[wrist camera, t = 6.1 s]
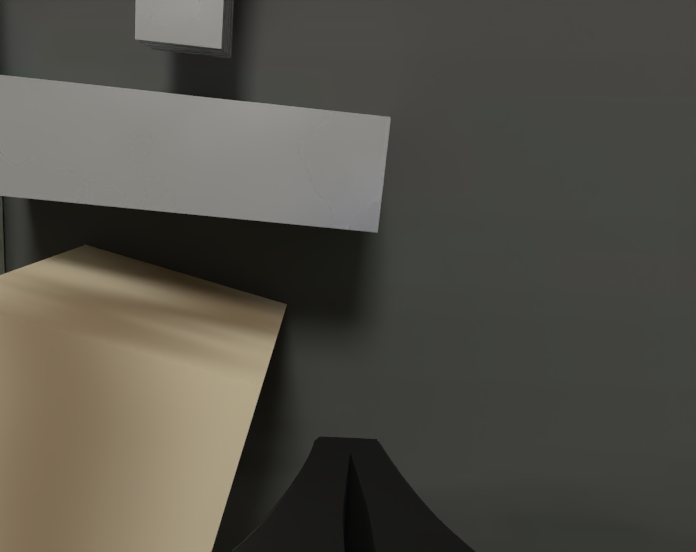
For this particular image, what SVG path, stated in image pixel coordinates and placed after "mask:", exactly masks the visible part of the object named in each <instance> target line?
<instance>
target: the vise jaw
mask: <svg viewBox="0 0 696 552" xmlns="http://www.w3.org/2000/svg"><path fill="white" fill-rule="evenodd" d="M233 12H234V0H136V14H135V39H136V40H137V41H139V42H141V43H142V44H144V45H146V46H147V47H149V48H151V49H152V50H161V51H170V52H179V53H188V54H197V55H206V56H215V57H223V58H231V50H232V31H233ZM390 119H391V117H384V116H375V115H366V114H357V113H347V112H338V111H329V110H320V109H311V108H301V107H292V106H283V105H274V104H264V103H255V102H246V101H237V100H228V99H218V98H209V97H200V96H191V95H181V94H172V93H163V92H154V91H145V90H135V89H126V88H117V87H108V86H98V85H89V84H80V83H71V82H62V81H52V80H43V79H34V78H25V77H15V76H6V75H0V196H9V197H19V198H29V199H39V200H50V201H60V202H70V203H80V204H91V205H101V206H111V207H121V208H131V209H142V210H152V211H162V212H172V213H183V214H193V215H203V216H213V217H223V218H234V219H244V220H254V221H264V222H275V223H285V224H295V225H305V226H315V227H326V228H336V229H346V230H356V231H367V232H377V233H378V225H379V216H380V207H381V198H382V190H383V181H384V172H385V163H386V155H387V146H388V137H389V128H390Z"/></svg>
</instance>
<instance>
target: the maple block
mask: <svg viewBox="0 0 696 552" xmlns="http://www.w3.org/2000/svg"><path fill="white" fill-rule="evenodd" d="M286 306H287V304H284V303H281V302H277V301H274V300H271V299H267V298H264V297H261V296H257V295H254V294H250V293H247V292H244V291H240V290H237V289H234V288H230V287H227V286H223V285H220V284H217V283H213V282H210V281H207V280H203V279H200V278H197V277H193V276H190V275H186V274H183V273H180V272H176V271H173V270H170V269H166V268H163V267H159V266H156V265H153V264H149V263H146V262H143V261H139V260H136V259H132V258H129V257H126V256H122V255H119V254H116V253H112V252H109V251H106V250H102V249H99V248H95V247H92V246H89V245H84V246H81V247H78V248H75V249H72V250H69V251H67V252H64V253H61V254H58V255H55V256H53V257H50V258H47V259H44V260H41V261H39V262H36V263H33V264H30V265H27V266H24V267H22V268H19V269H16V270H13V271H10V272H8V273H5V274H2V275H0V552H212V549H213V545H214V542H215V539H216V535H217V532H218V529H219V526H220V522H221V519H222V516H223V513H224V509H225V506H226V503H227V500H228V496H229V493H230V490H231V486H232V483H233V480H234V477H235V473H236V470H237V467H238V464H239V460H240V457H241V454H242V450H243V447H244V444H245V441H246V437H247V434H248V431H249V427H250V424H251V421H252V418H253V414H254V411H255V408H256V404H257V401H258V398H259V395H260V391H261V388H262V385H263V381H264V378H265V375H266V372H267V368H268V365H269V362H270V359H271V355H272V352H273V349H274V345H275V342H276V339H277V336H278V332H279V329H280V326H281V322H282V319H283V316H284V313H285V309H286Z"/></svg>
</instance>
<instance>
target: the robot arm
mask: <svg viewBox="0 0 696 552" xmlns="http://www.w3.org/2000/svg"><path fill="white" fill-rule="evenodd" d="M231 552H475V551H474V550H473V549H471V548H470V547H469V546H468V545H467V544H466V543H464V542H463V541H462V540H461V539H460V538H459V537H458V536H456V535H455V534H454V533H453V532H452V531H451V530H450V529H449V528H448V527H447V526H445V525H444V524H443V523H442V522H441V521H440V520H439V519H438V518H437V517H436V516H435V514H434V513H433V512H432V511H431V510H430V509H429V508H428V507H427V506H426V505H425V503H424V502H423V501H422V500H421V499H420V498H419V496H418V495H417V494H416V493H415V491H414V490H413V489H412V488H411V486H410V485H409V484H408V483H407V481H406V480H405V479H404V477H403V476H402V475H401V473H400V472H399V471H398V469H397V468H396V466H395V465H394V464H393V462H392V461H391V459H390V458H389V456H388V455H387V453H386V452H385V450H384V449H383V447H382V446H381V444H380V443H379V442H378V441H377V439H361V438H340V437H319V438H318V439H316V440H315V441H314V445H313V447H312V450H311V452H310V454H309V456H308V458H307V460H306V462H305V464H304V465H303V467H302V469H301V470H300V472H299V473H298V475H297V477H296V478H295V480H294V481H293V483H292V484H291V486H290V487H289V489H288V490H287V491H286V493H285V494H284V495H283V496H282V498H281V499H280V500H279V502H278V503H277V504H276V505H275V507H274V508H273V509H272V510H271V512H270V513H269V514H268V515H267V516H266V517H265V519H264V520H263V521H262V522H261V523H260V524H259V525H258V526H257V527H256V528H255V529H254V530H253V531H252V532H251V533H250V534H249V535H248V536H247V537H246V538H245V539H244V540H243V541H242V542H241V543H240V544H239V545H238V546H236V547H235V548H234V549H233V550H232V551H231Z"/></svg>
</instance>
